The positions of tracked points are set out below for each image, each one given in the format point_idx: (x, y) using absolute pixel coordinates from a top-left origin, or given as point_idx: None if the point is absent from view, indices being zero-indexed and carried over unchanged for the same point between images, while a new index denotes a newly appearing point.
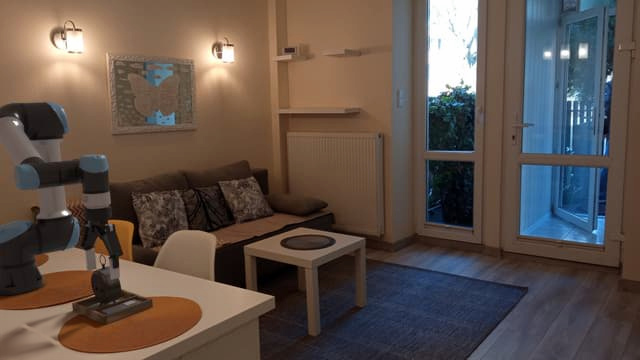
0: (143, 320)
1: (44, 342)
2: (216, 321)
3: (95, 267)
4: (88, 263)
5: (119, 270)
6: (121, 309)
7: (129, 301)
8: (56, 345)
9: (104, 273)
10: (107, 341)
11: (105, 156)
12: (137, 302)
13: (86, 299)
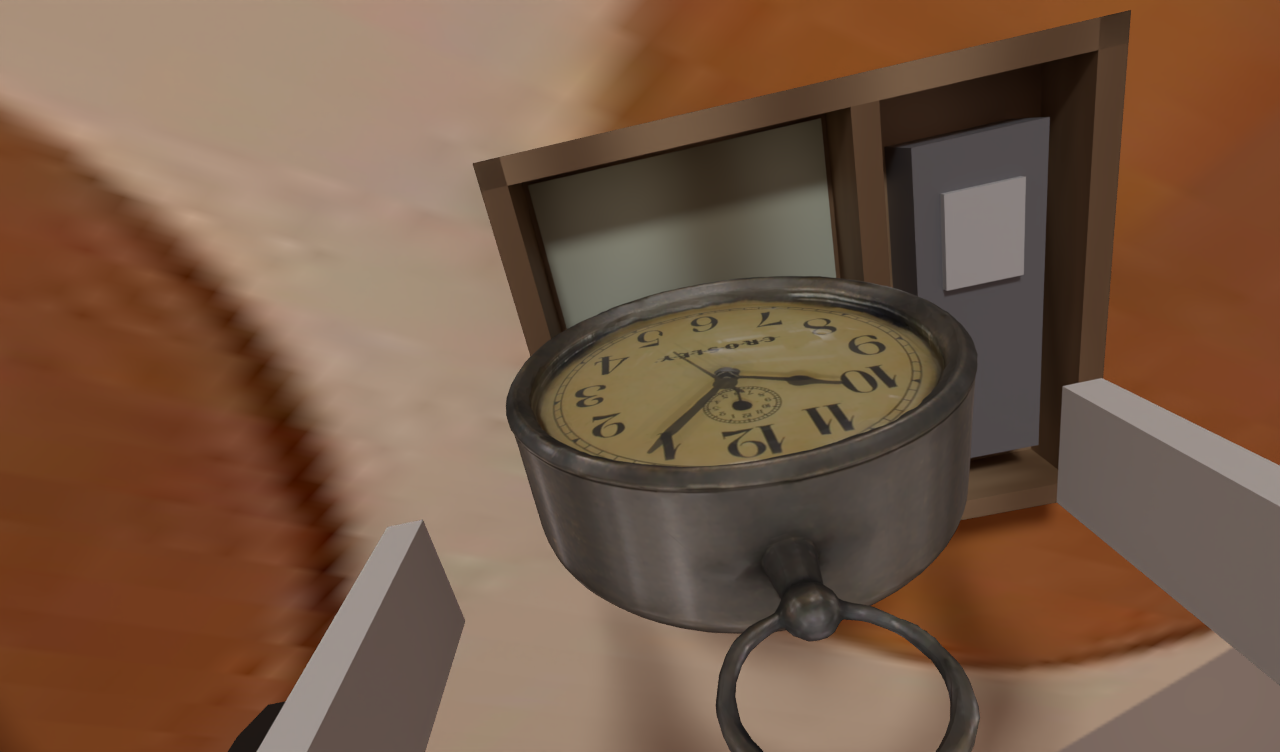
0: (1188, 203)
1: (935, 718)
2: None
3: (422, 549)
4: (429, 709)
5: (1198, 428)
6: (1087, 353)
7: (949, 222)
8: (1029, 688)
9: (913, 560)
10: None
11: None
12: (1022, 162)
13: None
